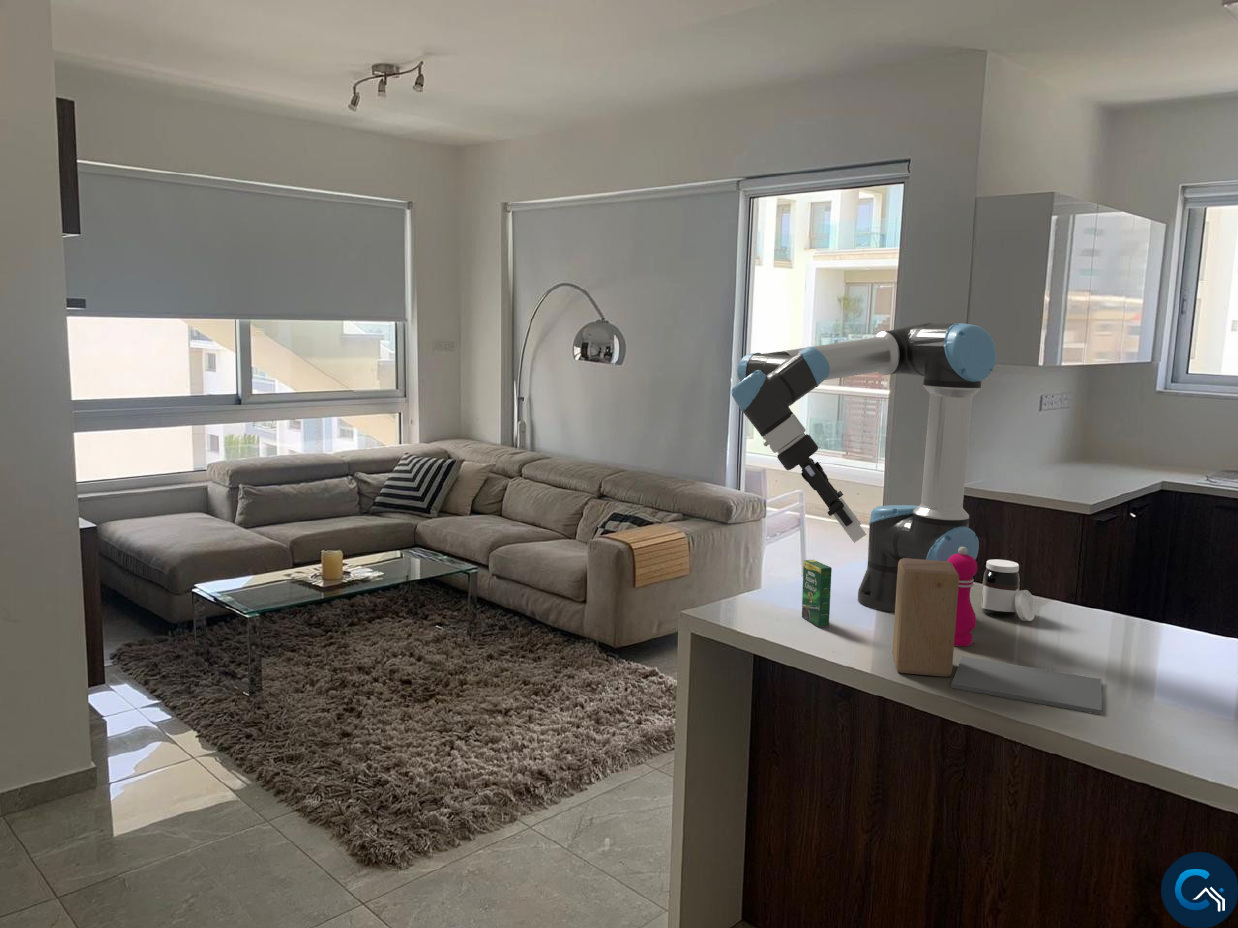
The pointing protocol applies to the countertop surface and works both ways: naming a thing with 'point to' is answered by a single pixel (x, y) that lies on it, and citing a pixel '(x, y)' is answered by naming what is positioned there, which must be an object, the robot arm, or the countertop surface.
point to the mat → (1029, 684)
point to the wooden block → (925, 617)
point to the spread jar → (1005, 592)
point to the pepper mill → (964, 597)
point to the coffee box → (816, 592)
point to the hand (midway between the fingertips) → (858, 533)
